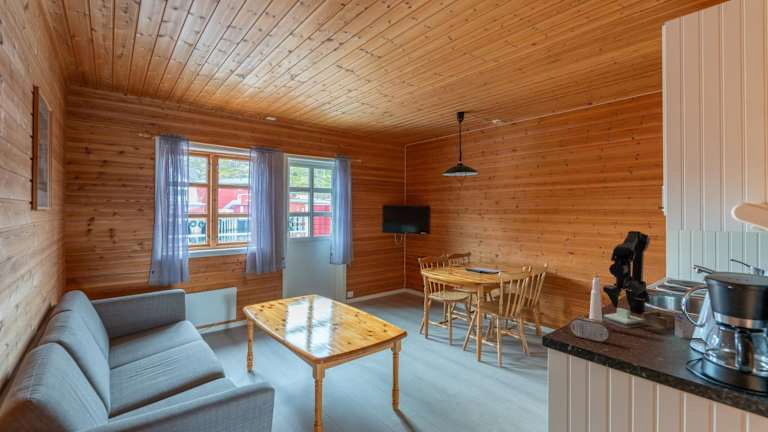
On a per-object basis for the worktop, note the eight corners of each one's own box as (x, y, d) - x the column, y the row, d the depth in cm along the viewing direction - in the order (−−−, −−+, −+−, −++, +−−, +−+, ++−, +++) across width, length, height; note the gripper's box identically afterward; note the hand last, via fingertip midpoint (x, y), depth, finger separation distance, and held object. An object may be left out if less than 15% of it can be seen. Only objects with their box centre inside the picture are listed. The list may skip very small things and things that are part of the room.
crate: (656, 320, 164) (657, 310, 164) (680, 327, 155) (680, 317, 154) (641, 322, 161) (641, 312, 161) (665, 329, 151) (665, 319, 151)
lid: (620, 317, 168) (620, 305, 168) (643, 324, 158) (643, 311, 158) (604, 319, 165) (604, 307, 165) (626, 326, 154) (626, 314, 154)
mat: (619, 316, 170) (619, 316, 170) (647, 325, 157) (647, 324, 157) (599, 319, 166) (599, 318, 166) (626, 328, 153) (626, 327, 153)
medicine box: (694, 335, 145) (695, 314, 145) (703, 339, 140) (703, 318, 140) (674, 334, 146) (674, 314, 145) (682, 338, 141) (682, 317, 141)
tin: (612, 343, 137) (612, 322, 136) (610, 345, 134) (610, 324, 134) (570, 333, 147) (570, 314, 147) (568, 335, 145) (568, 315, 144)
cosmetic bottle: (589, 328, 153) (589, 279, 152) (586, 324, 159) (587, 276, 158) (605, 330, 151) (605, 280, 150) (601, 325, 157) (602, 277, 156)
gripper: (625, 278, 150) (625, 313, 150) (656, 275, 156) (655, 309, 156) (602, 273, 161) (601, 306, 161) (631, 271, 167) (631, 303, 167)
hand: (623, 306), depth 161 cm, fingers open, 9 cm apart
